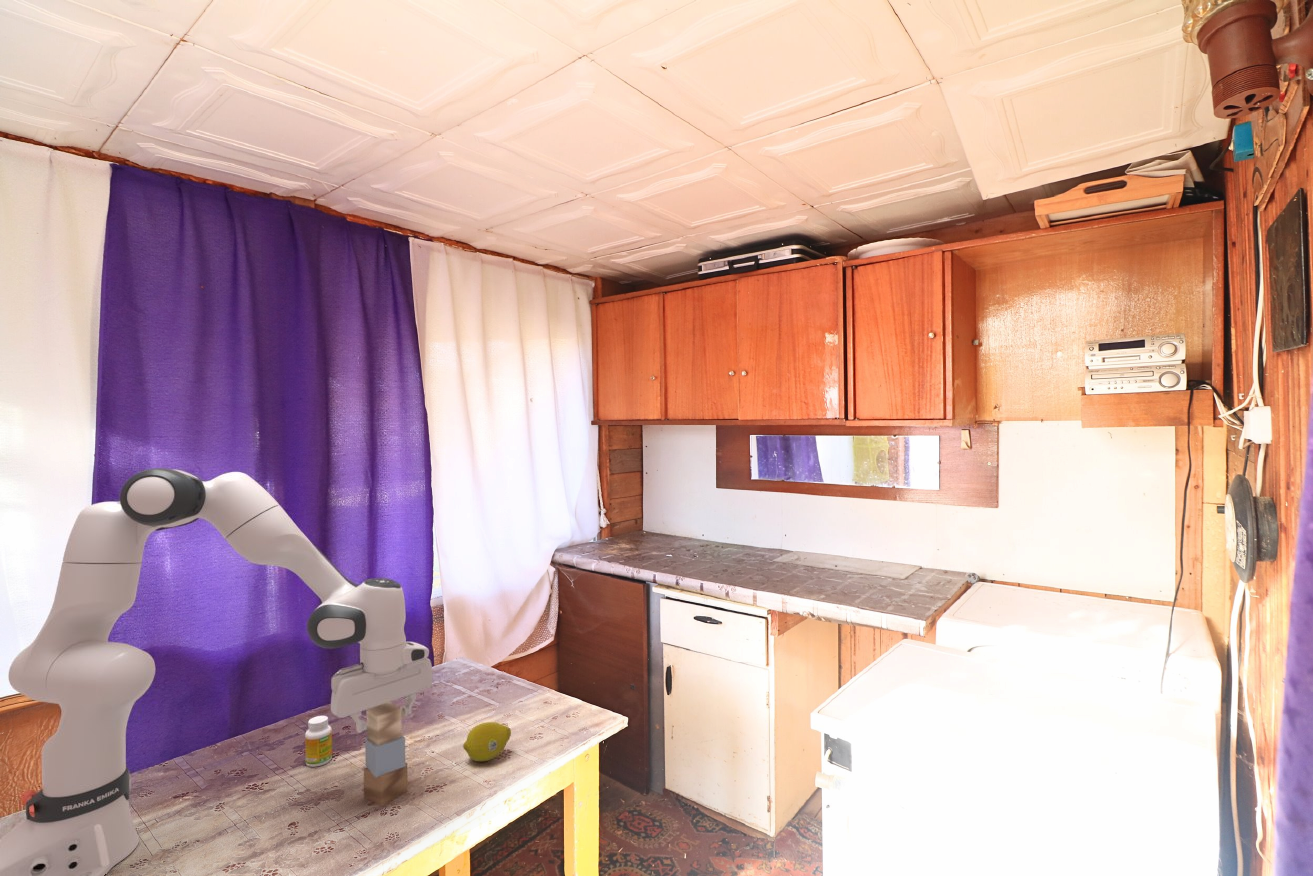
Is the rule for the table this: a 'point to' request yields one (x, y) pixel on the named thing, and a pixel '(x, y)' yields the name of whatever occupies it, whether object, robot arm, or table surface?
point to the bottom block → (385, 785)
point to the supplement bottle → (318, 742)
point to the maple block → (384, 723)
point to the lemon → (486, 741)
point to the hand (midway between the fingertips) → (384, 722)
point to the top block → (385, 756)
